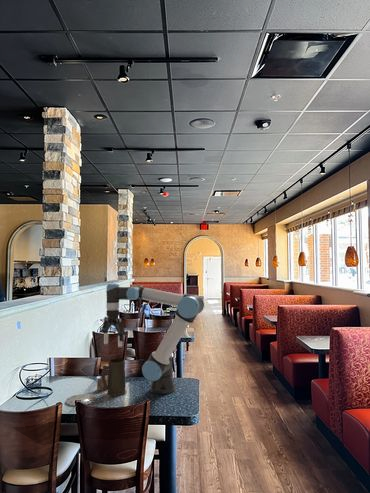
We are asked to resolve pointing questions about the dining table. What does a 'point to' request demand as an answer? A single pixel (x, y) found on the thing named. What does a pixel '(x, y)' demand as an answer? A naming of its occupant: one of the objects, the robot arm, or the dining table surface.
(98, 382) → the menu block
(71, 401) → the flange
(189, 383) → the dining table surface
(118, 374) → the beer stein
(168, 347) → the robot arm
